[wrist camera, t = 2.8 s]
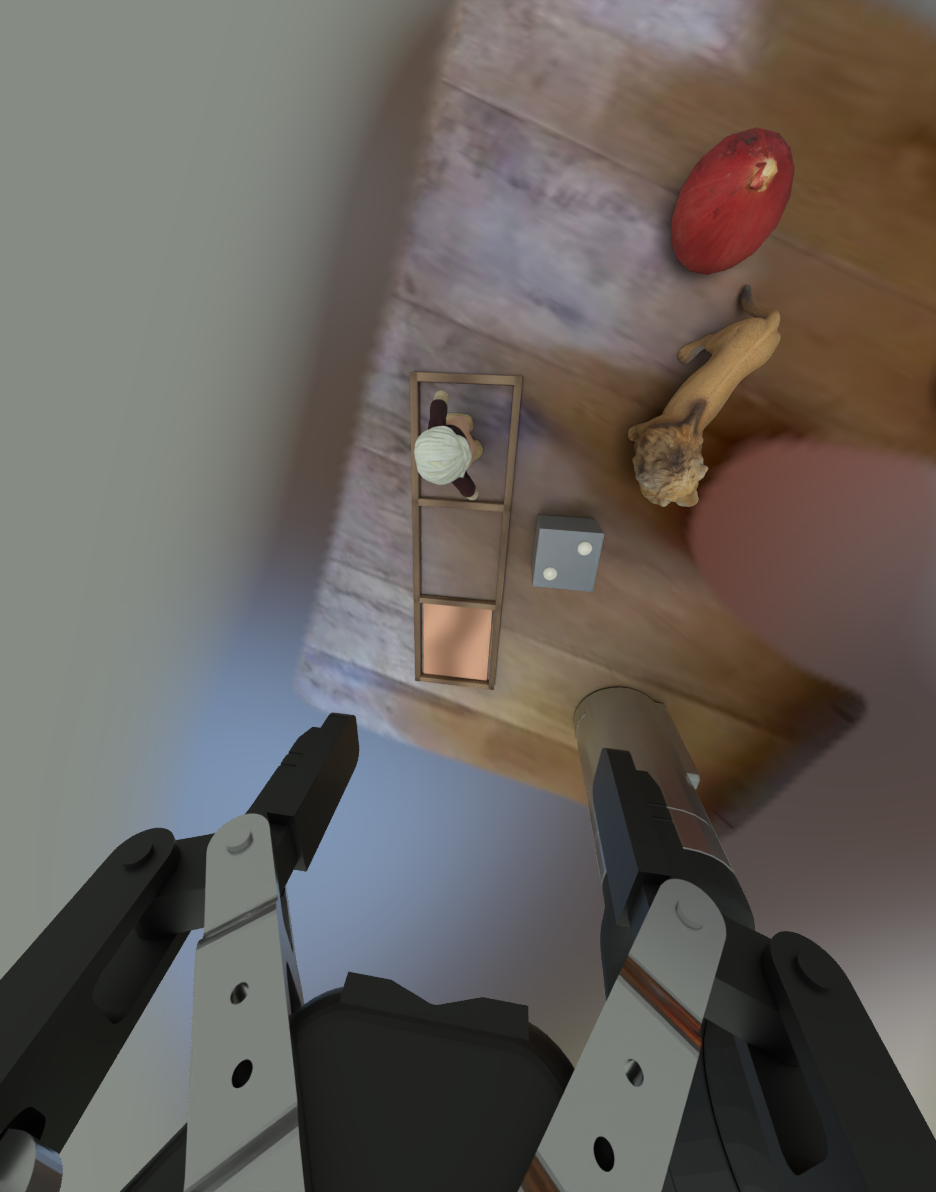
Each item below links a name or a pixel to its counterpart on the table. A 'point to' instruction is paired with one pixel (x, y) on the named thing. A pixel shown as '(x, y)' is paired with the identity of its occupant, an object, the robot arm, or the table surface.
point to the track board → (452, 622)
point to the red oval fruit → (732, 201)
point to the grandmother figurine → (448, 448)
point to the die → (566, 552)
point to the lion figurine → (699, 406)
